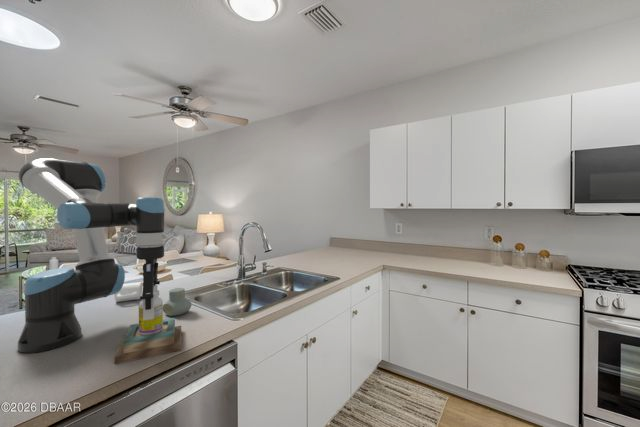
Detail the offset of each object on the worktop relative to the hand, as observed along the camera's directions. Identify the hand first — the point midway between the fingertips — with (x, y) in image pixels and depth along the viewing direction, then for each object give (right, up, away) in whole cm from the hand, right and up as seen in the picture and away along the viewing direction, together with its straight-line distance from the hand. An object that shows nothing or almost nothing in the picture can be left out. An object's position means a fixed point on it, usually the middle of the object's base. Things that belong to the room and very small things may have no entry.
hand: (150, 311), depth 89 cm
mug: (-36, -10, +42) cm, 57 cm away
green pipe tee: (-6, -11, +27) cm, 30 cm away
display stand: (0, -11, 0) cm, 11 cm away
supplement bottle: (0, -7, 0) cm, 7 cm away
